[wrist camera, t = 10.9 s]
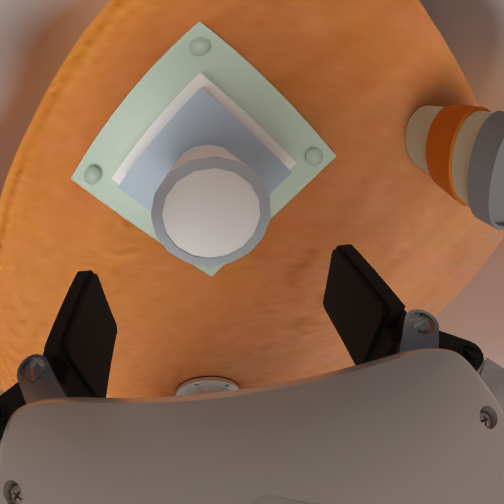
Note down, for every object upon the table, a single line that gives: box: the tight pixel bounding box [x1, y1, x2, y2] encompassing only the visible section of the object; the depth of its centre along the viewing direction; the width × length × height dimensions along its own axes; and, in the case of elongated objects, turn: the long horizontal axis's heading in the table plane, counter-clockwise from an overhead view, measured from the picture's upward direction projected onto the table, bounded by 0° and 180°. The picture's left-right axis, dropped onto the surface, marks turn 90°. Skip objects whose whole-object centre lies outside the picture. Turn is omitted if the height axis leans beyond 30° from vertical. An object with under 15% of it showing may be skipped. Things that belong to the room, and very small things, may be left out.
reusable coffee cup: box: [405, 104, 504, 230], centre depth 24 cm, size 13×13×15 cm
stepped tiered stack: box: [71, 21, 336, 277], centre depth 24 cm, size 20×20×7 cm
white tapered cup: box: [151, 144, 271, 267], centre depth 18 cm, size 7×7×7 cm
